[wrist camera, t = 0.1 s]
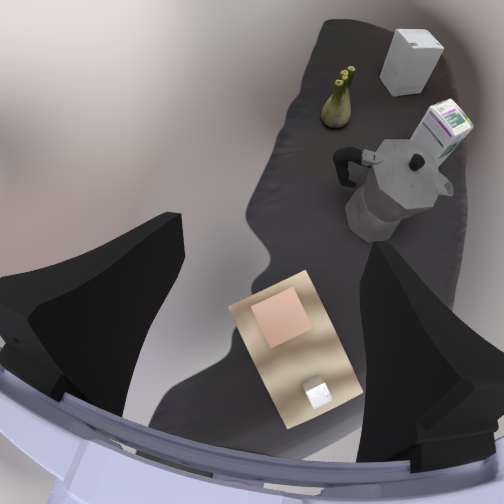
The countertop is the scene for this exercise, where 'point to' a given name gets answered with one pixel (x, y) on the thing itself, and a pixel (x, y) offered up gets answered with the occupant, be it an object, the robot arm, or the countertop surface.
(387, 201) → the coffeepot
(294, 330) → the salmon orange cube
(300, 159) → the countertop surface
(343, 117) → the fennel bulb
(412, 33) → the skincare box
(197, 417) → the countertop surface
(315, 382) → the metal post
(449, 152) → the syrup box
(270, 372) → the maple board
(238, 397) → the countertop surface
